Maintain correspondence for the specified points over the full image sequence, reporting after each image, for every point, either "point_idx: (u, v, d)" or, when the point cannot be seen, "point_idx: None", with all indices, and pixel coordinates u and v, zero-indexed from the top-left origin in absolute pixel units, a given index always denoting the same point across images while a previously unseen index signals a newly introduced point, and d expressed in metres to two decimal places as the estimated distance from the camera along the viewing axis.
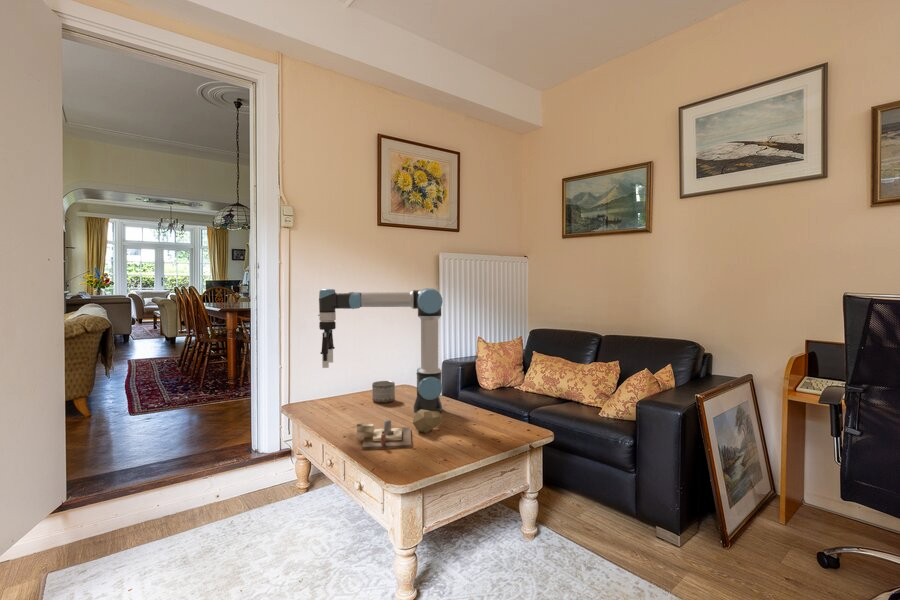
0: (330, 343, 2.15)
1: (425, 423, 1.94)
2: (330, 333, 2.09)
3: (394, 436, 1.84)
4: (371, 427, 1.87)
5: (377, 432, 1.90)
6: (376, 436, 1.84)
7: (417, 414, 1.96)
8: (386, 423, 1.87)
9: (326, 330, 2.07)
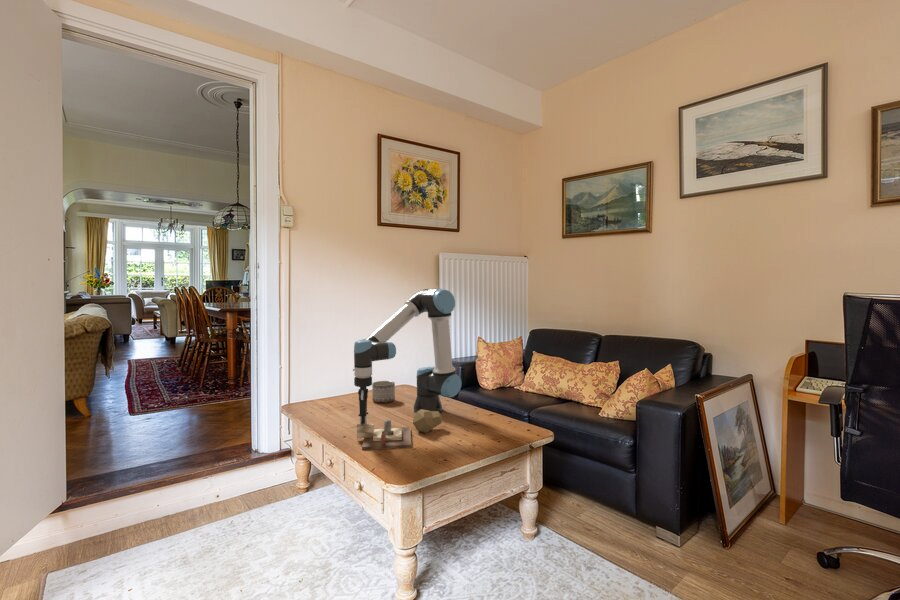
0: None
1: (425, 423, 1.94)
2: (366, 390, 1.87)
3: (394, 436, 1.85)
4: (371, 427, 1.87)
5: (376, 432, 1.90)
6: (376, 436, 1.84)
7: (417, 414, 1.96)
8: (386, 423, 1.87)
9: (362, 387, 1.85)
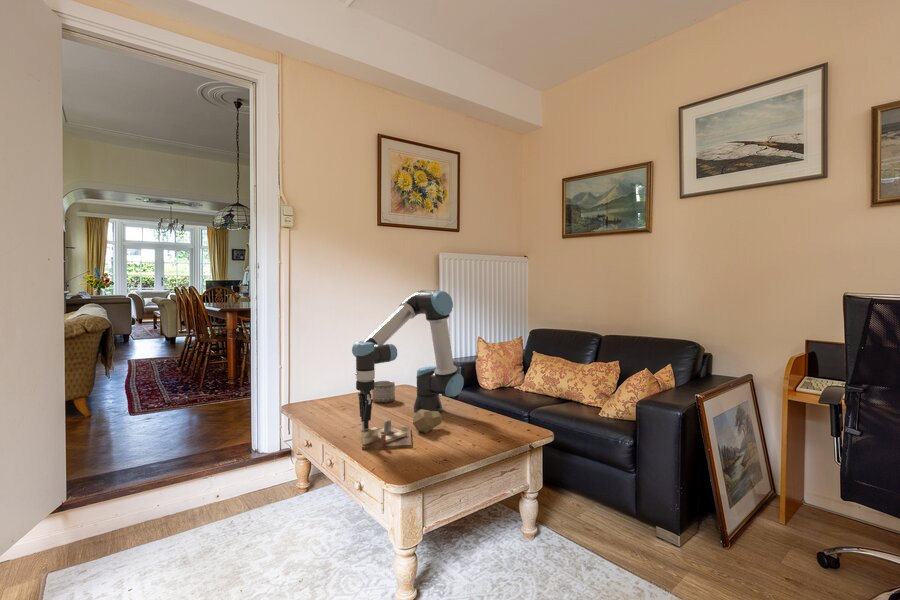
0: None
1: (425, 423, 1.94)
2: (370, 394, 1.81)
3: (400, 433, 1.88)
4: (376, 430, 1.83)
5: None
6: None
7: (417, 414, 1.96)
8: (386, 423, 1.87)
9: (368, 391, 1.79)
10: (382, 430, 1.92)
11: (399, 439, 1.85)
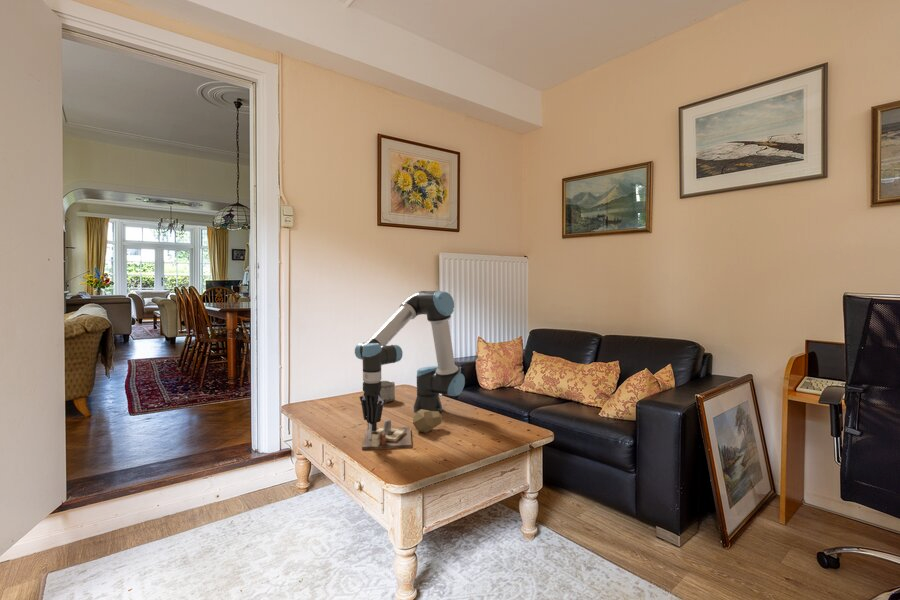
0: None
1: (425, 423, 1.94)
2: None
3: (400, 431, 1.90)
4: (383, 431, 1.82)
5: None
6: (391, 437, 1.83)
7: (417, 414, 1.96)
8: (386, 423, 1.87)
9: (378, 392, 1.77)
10: None
11: (399, 439, 1.85)
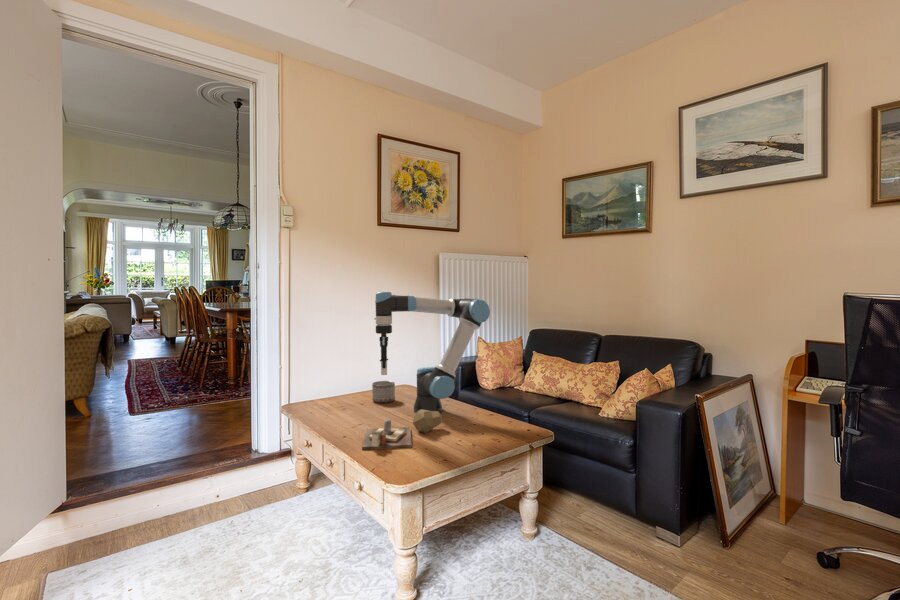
0: None
1: (425, 423, 1.94)
2: (387, 337, 2.03)
3: (400, 431, 1.90)
4: (383, 431, 1.82)
5: None
6: (391, 437, 1.83)
7: (417, 414, 1.96)
8: (386, 423, 1.87)
9: (383, 334, 2.01)
10: None
11: (399, 439, 1.85)
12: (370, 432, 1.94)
